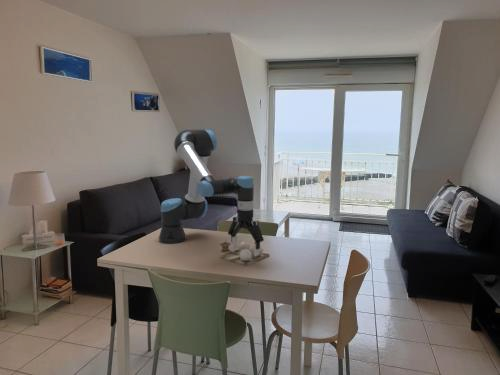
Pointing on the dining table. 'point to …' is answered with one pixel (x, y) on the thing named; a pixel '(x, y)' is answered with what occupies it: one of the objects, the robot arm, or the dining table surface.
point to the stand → (225, 247)
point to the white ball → (245, 255)
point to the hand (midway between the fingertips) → (245, 252)
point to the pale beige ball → (243, 246)
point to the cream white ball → (259, 251)
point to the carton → (235, 258)
